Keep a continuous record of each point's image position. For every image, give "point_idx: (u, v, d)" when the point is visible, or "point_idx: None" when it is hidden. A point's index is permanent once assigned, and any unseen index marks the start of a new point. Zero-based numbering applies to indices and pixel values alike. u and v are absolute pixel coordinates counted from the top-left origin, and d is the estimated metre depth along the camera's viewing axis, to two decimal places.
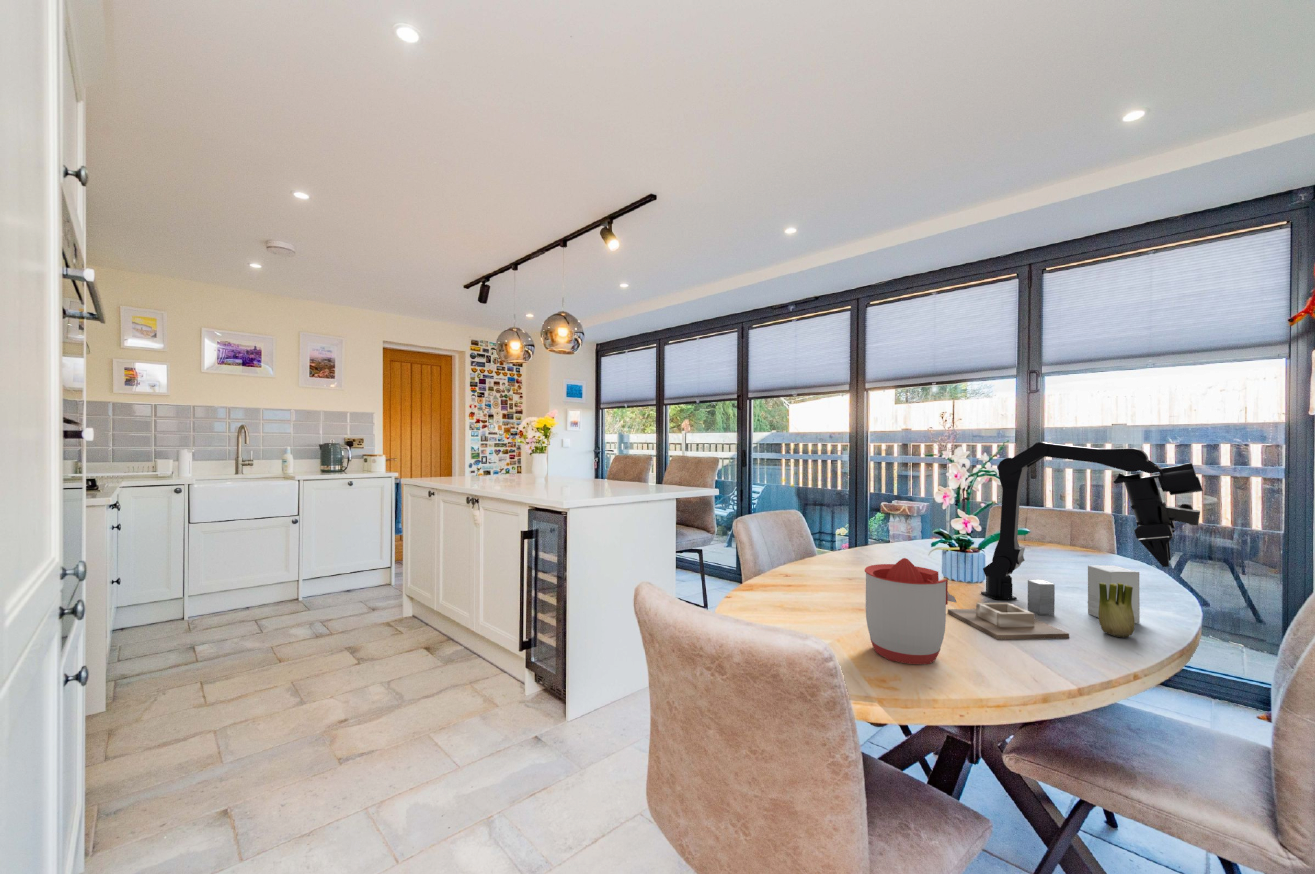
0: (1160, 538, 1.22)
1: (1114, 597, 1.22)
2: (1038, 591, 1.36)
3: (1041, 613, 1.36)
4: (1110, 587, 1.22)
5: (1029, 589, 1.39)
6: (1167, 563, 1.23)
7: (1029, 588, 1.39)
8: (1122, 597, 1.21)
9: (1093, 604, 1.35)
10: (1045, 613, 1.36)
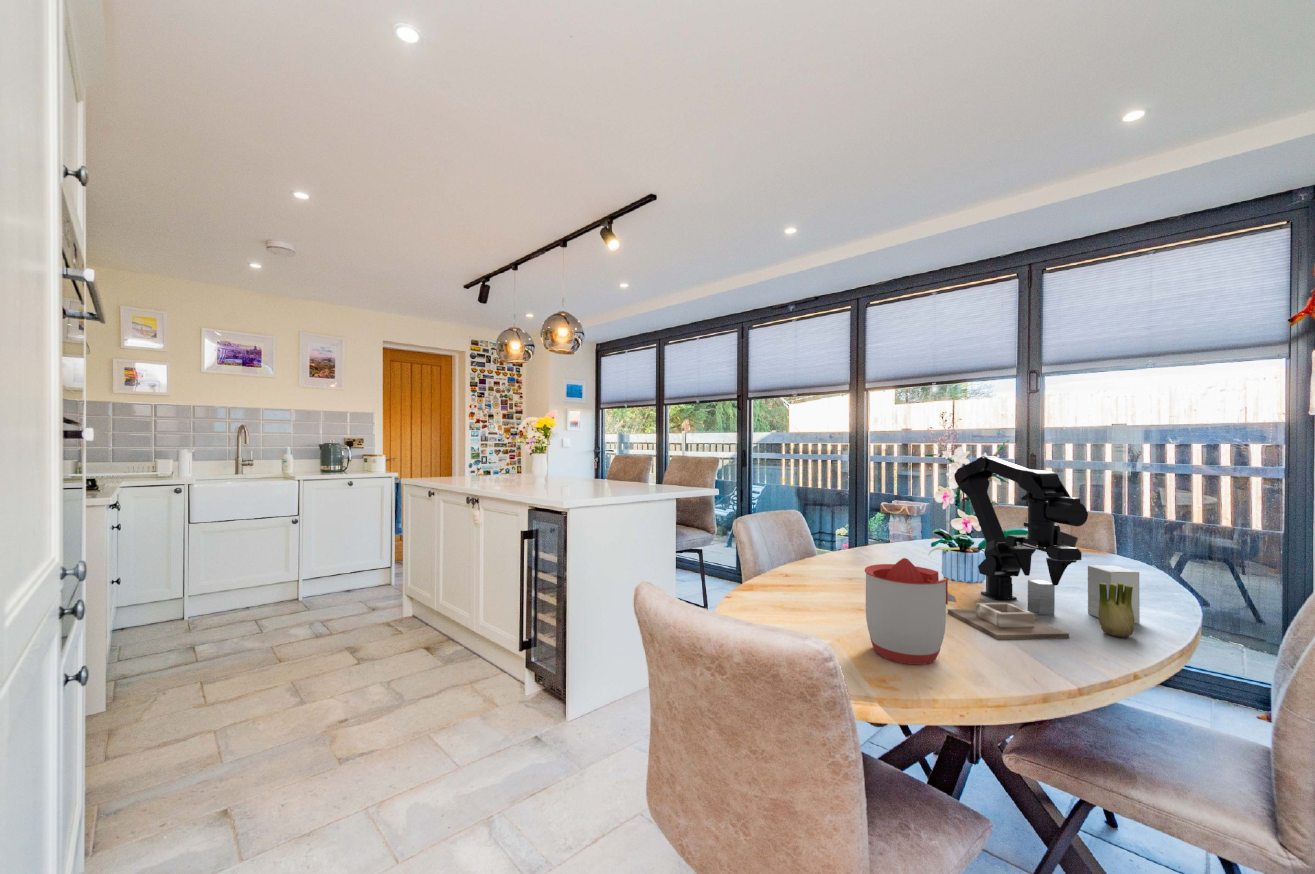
0: (1070, 561, 1.30)
1: (1114, 597, 1.22)
2: (1038, 591, 1.36)
3: (1041, 613, 1.36)
4: (1110, 587, 1.22)
5: (1029, 589, 1.39)
6: (1058, 582, 1.33)
7: (1029, 588, 1.39)
8: (1122, 597, 1.21)
9: (1093, 604, 1.35)
10: (1045, 613, 1.36)
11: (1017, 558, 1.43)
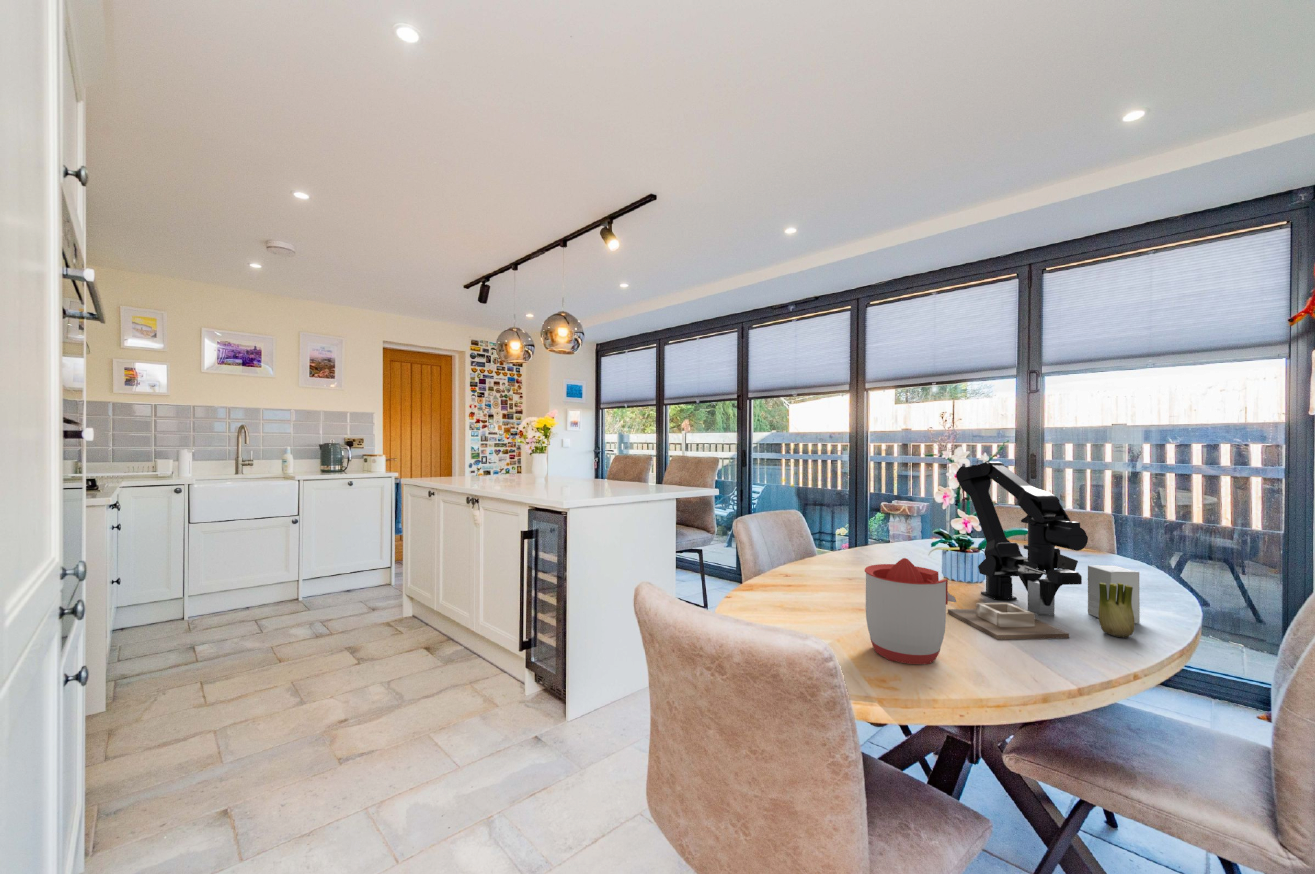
0: None
1: (1114, 597, 1.22)
2: (1038, 591, 1.36)
3: (1041, 613, 1.36)
4: (1110, 587, 1.22)
5: (1029, 589, 1.39)
6: (1050, 603, 1.35)
7: (1029, 588, 1.39)
8: (1122, 597, 1.21)
9: (1093, 604, 1.35)
10: (1045, 613, 1.36)
11: (1024, 583, 1.40)
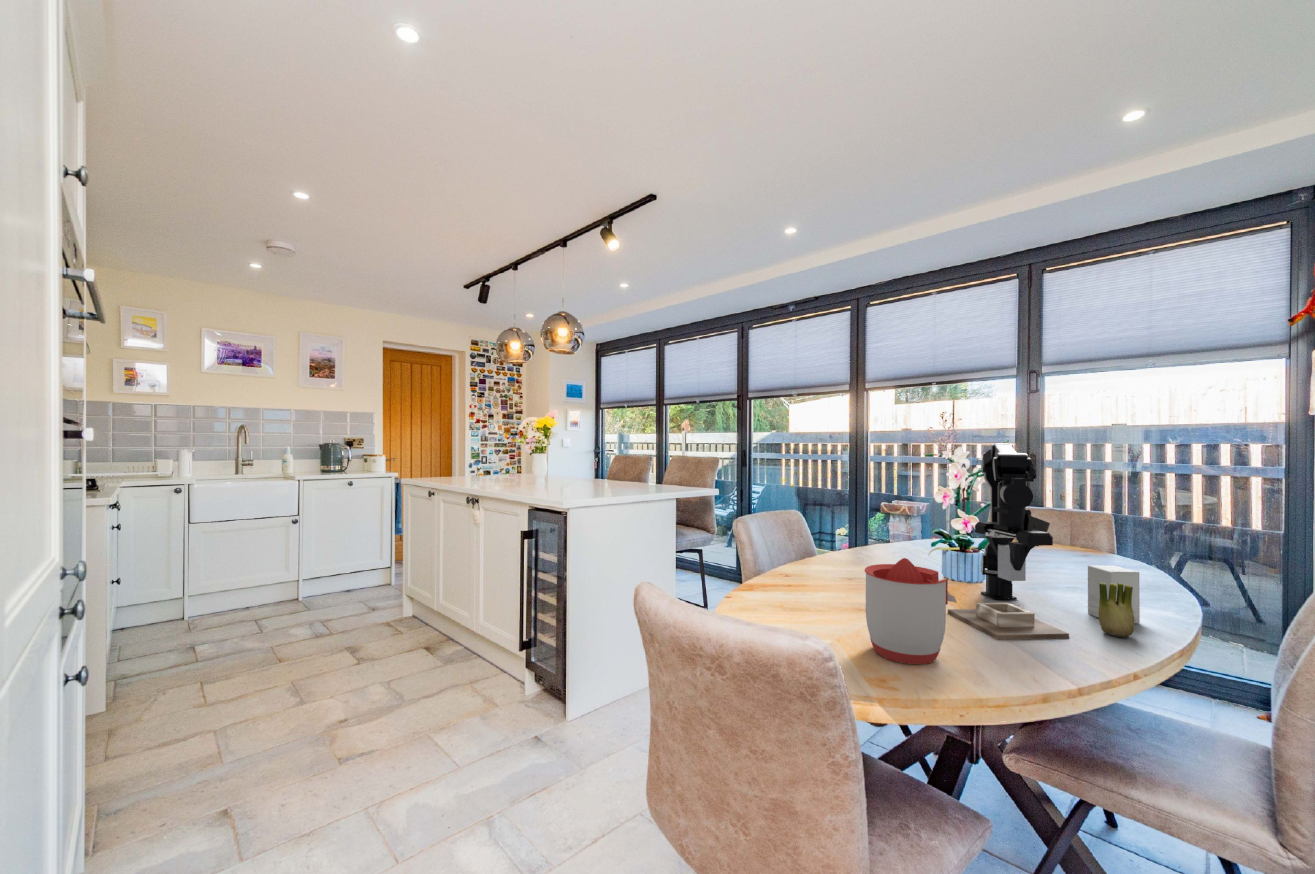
0: None
1: (1114, 597, 1.22)
2: (1008, 555, 1.28)
3: (1011, 578, 1.28)
4: (1110, 587, 1.22)
5: (999, 554, 1.31)
6: (1021, 567, 1.27)
7: (999, 553, 1.31)
8: (1122, 597, 1.21)
9: (1093, 604, 1.35)
10: (1016, 579, 1.28)
11: (994, 548, 1.32)
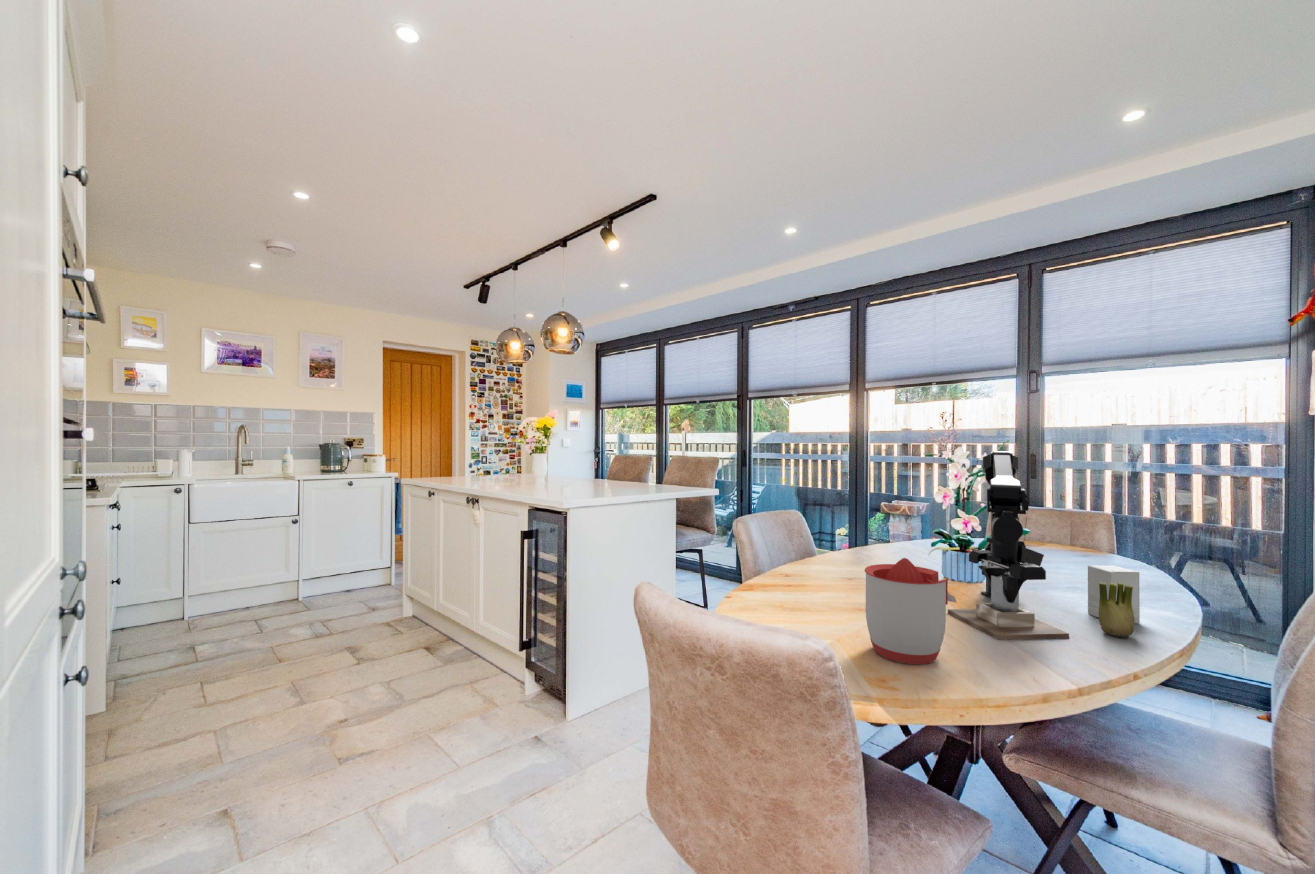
0: None
1: (1114, 597, 1.22)
2: (1001, 587, 1.27)
3: (1004, 610, 1.27)
4: (1110, 587, 1.22)
5: (992, 585, 1.30)
6: (1014, 599, 1.26)
7: (992, 584, 1.30)
8: (1122, 597, 1.21)
9: (1093, 604, 1.35)
10: (1009, 611, 1.27)
11: (987, 578, 1.31)
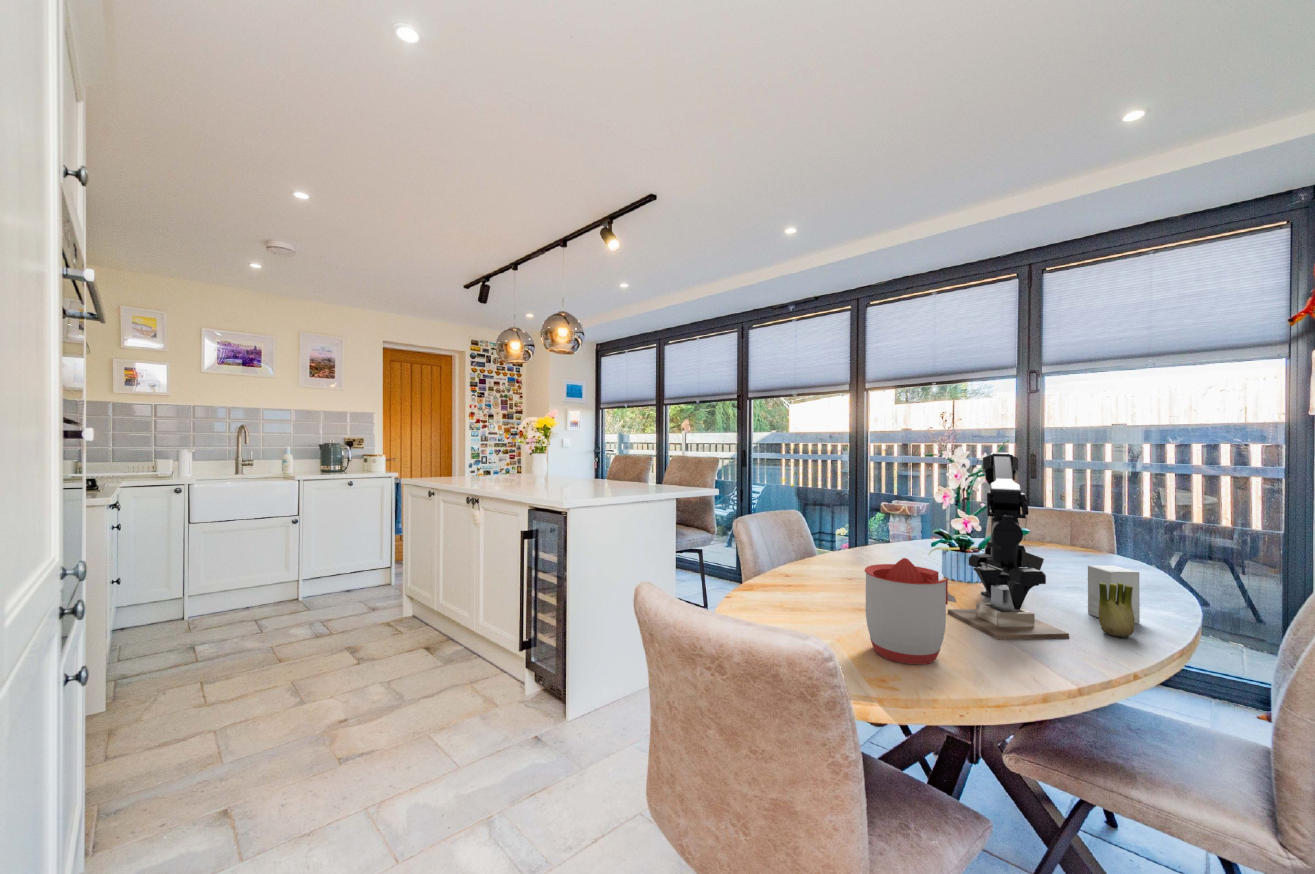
0: (1032, 584, 1.21)
1: (1114, 597, 1.22)
2: (1001, 597, 1.27)
3: None
4: (1110, 587, 1.22)
5: (992, 595, 1.30)
6: (1020, 606, 1.24)
7: (992, 594, 1.30)
8: (1122, 597, 1.21)
9: (1093, 604, 1.35)
10: None
11: (982, 580, 1.33)
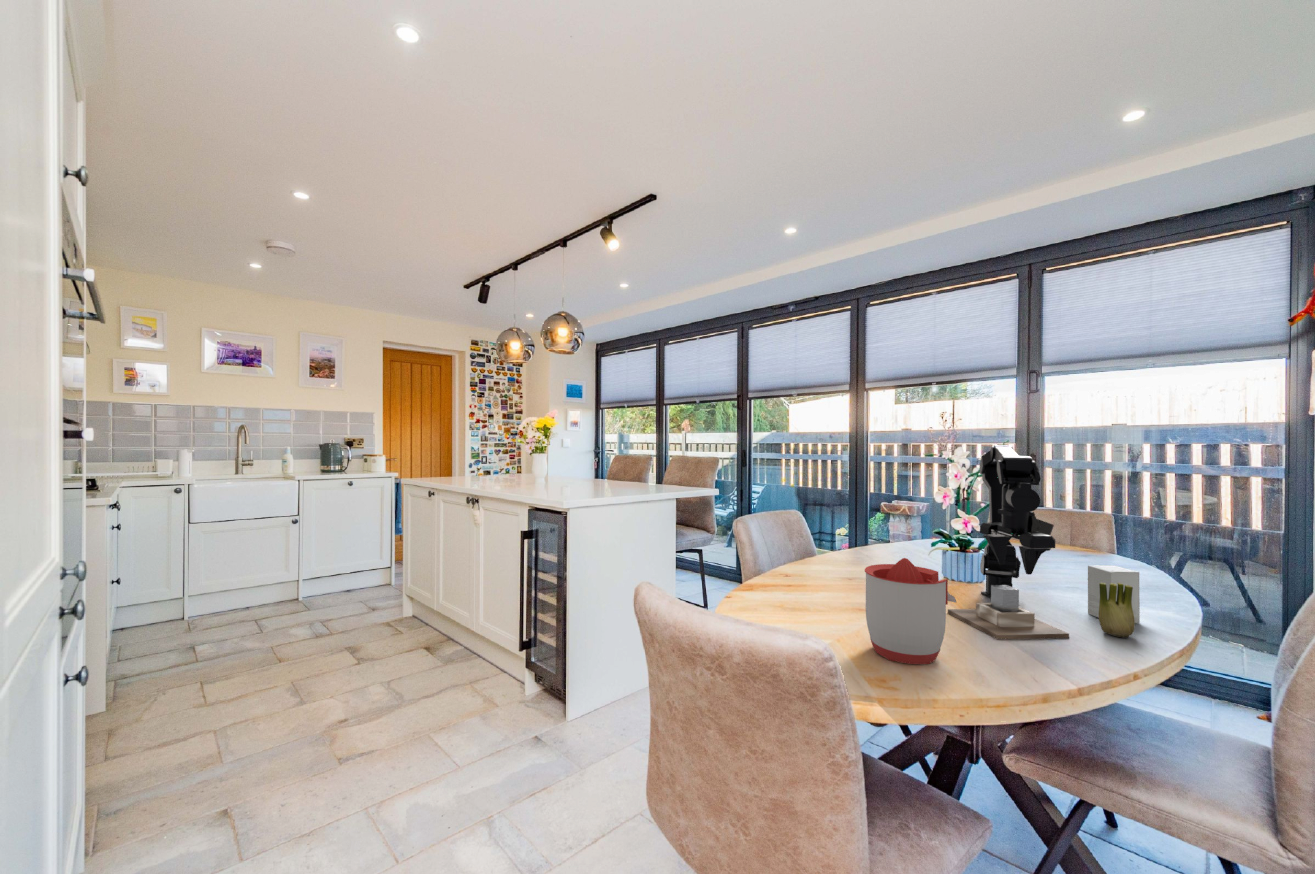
0: (1043, 549, 1.24)
1: (1114, 597, 1.22)
2: (1001, 597, 1.27)
3: None
4: (1110, 587, 1.22)
5: (992, 595, 1.30)
6: (1031, 571, 1.27)
7: (992, 594, 1.30)
8: (1122, 597, 1.21)
9: (1093, 604, 1.35)
10: None
11: (992, 546, 1.37)
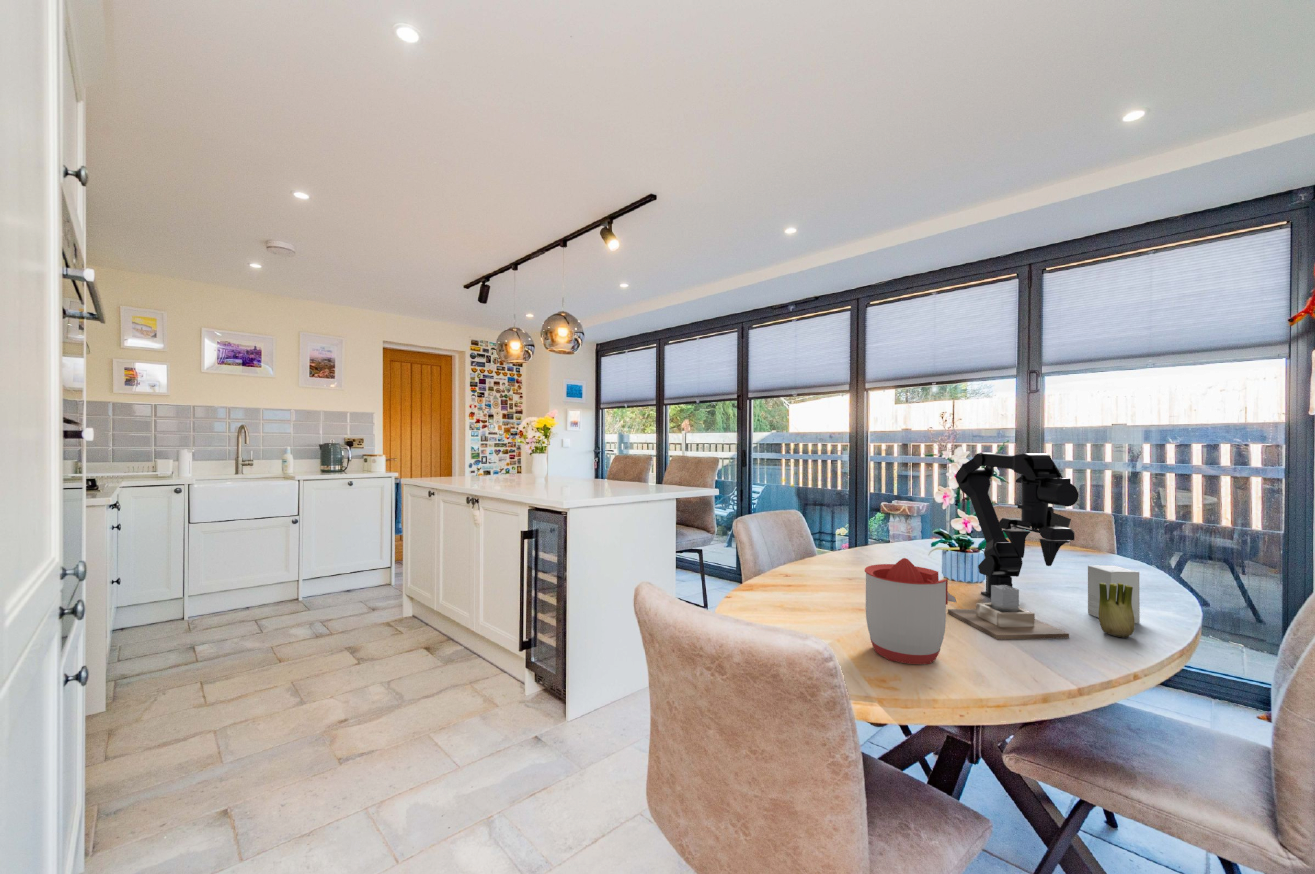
0: (1063, 541, 1.31)
1: (1114, 597, 1.22)
2: (1001, 597, 1.27)
3: None
4: (1110, 587, 1.22)
5: (992, 595, 1.30)
6: (1051, 563, 1.34)
7: (992, 594, 1.30)
8: (1122, 597, 1.21)
9: (1093, 604, 1.35)
10: None
11: (1011, 540, 1.44)
